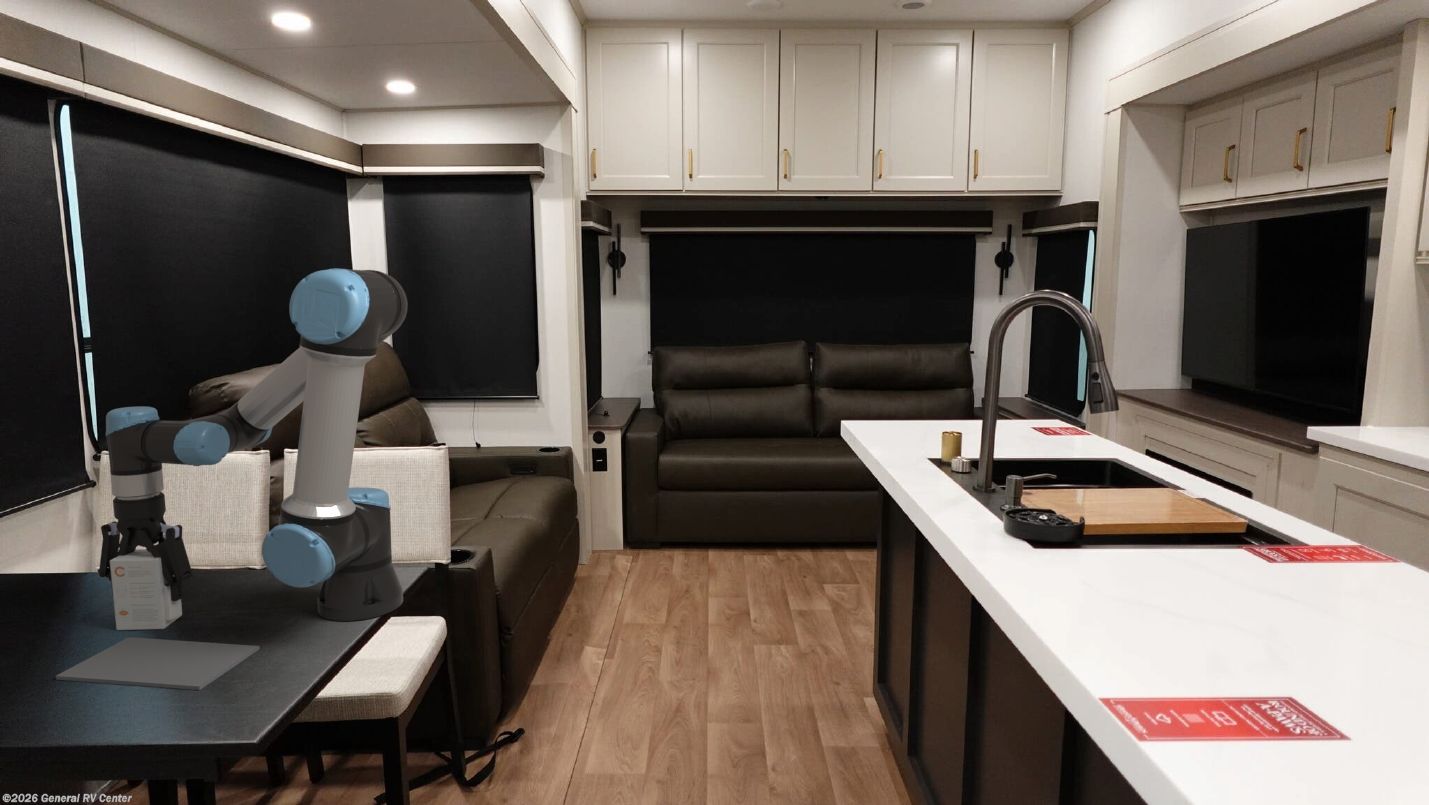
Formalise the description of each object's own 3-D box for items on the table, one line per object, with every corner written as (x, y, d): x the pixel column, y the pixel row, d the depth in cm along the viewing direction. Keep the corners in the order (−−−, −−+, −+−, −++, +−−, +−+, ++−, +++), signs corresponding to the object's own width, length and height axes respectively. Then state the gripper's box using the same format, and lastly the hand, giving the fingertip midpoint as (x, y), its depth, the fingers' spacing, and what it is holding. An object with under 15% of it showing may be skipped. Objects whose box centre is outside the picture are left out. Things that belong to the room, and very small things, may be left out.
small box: (183, 615, 151) (177, 548, 149) (163, 630, 144) (157, 559, 142) (136, 616, 150) (130, 548, 148) (115, 631, 144) (108, 560, 142)
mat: (259, 649, 138) (259, 646, 138) (199, 690, 124) (199, 686, 124) (129, 640, 140) (128, 637, 140) (56, 679, 126) (55, 676, 126)
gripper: (210, 491, 146) (219, 610, 150) (100, 486, 148) (112, 604, 152) (179, 502, 139) (189, 627, 142) (64, 497, 141) (76, 620, 144)
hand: (149, 615), depth 147 cm, fingers closed on small box, 9 cm apart
